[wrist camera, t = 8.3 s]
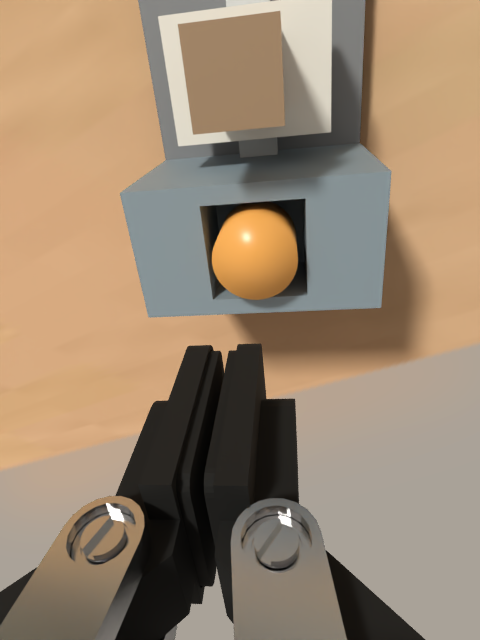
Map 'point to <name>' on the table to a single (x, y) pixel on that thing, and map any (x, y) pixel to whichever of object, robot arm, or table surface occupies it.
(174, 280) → the rail bed
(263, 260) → the button
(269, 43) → the carriage
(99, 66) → the table surface
